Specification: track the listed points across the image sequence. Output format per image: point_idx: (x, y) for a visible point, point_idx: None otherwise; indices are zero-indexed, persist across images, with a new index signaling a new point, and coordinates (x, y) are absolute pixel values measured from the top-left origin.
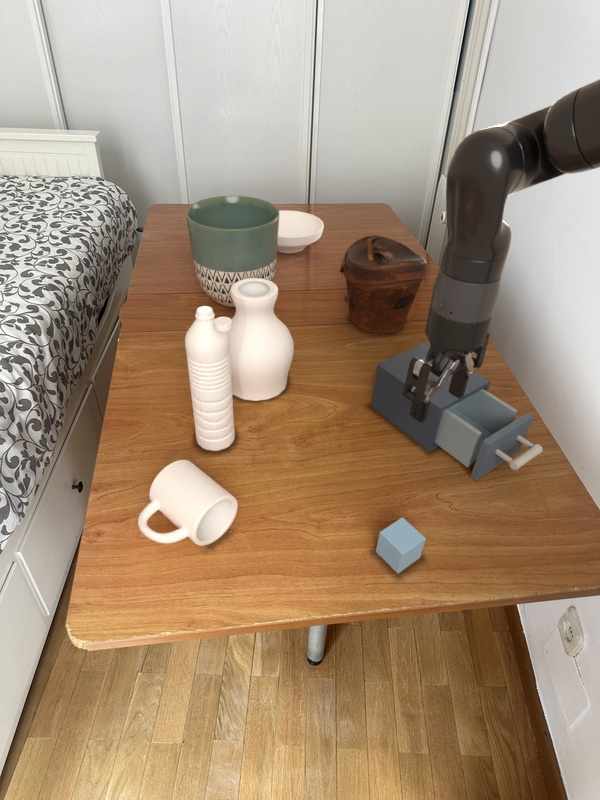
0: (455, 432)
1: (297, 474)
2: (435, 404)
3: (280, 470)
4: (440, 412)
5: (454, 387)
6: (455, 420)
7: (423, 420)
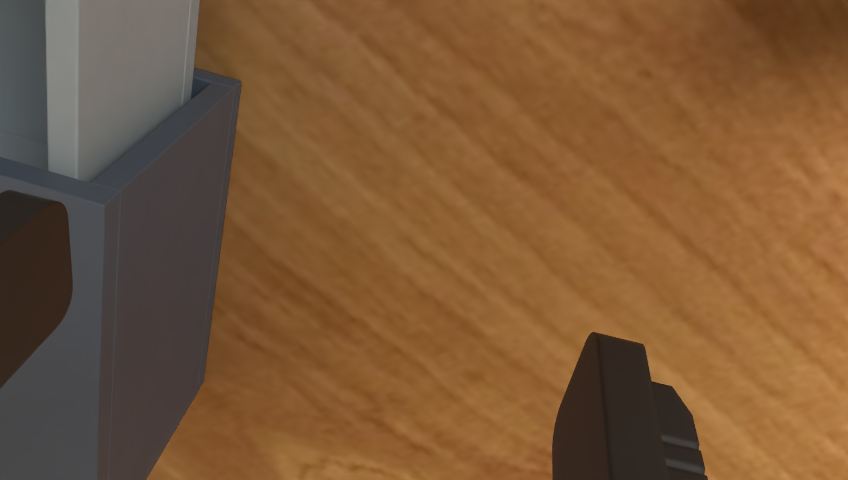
0: (128, 36)
1: (711, 423)
2: (99, 246)
3: (726, 471)
4: (116, 189)
5: (18, 320)
6: (85, 83)
7: (635, 351)
